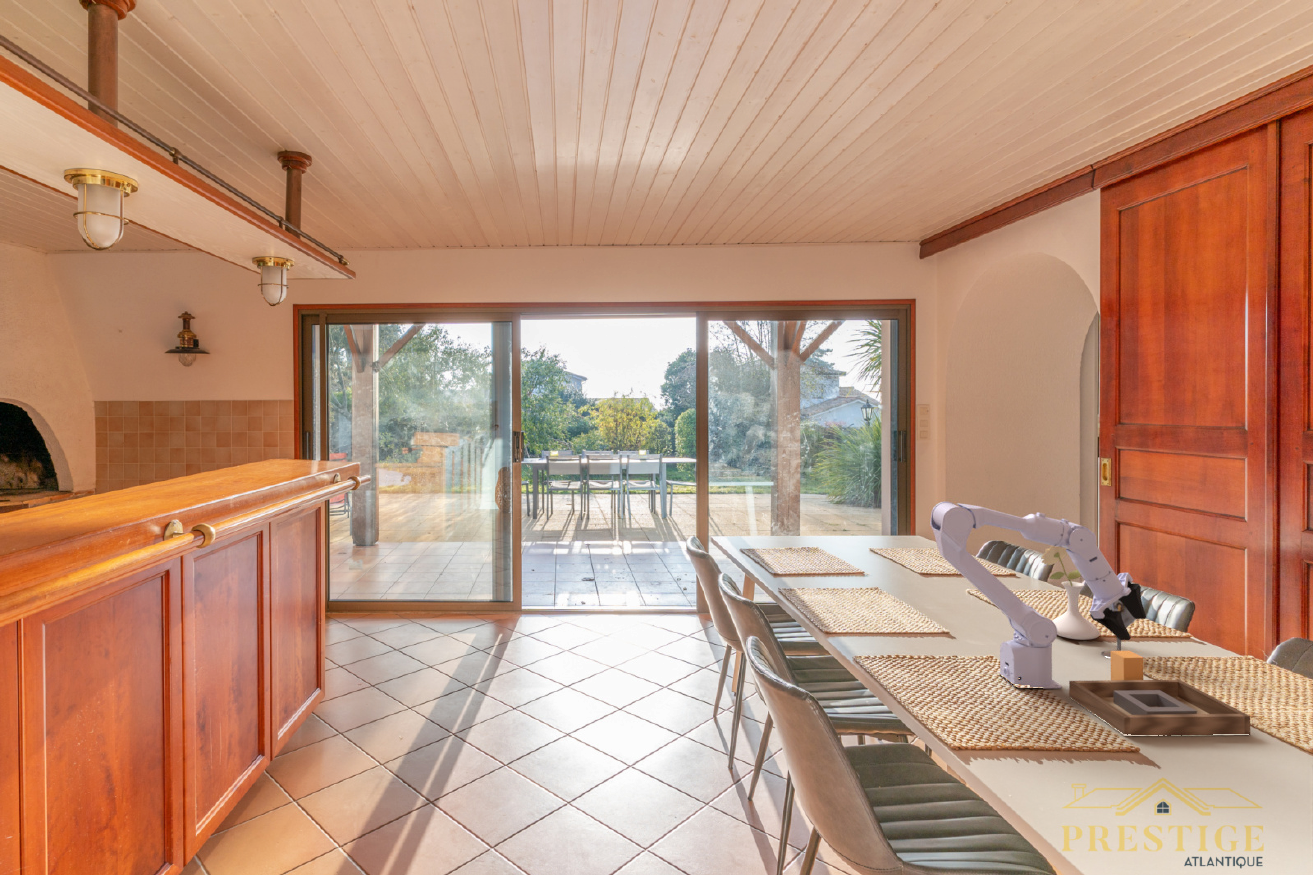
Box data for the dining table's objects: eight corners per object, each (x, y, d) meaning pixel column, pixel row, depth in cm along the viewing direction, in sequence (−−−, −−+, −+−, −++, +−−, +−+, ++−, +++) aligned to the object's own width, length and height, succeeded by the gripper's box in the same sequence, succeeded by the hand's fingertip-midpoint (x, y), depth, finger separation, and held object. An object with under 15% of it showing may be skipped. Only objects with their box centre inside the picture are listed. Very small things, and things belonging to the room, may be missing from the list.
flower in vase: (1083, 629, 170) (1083, 536, 169) (1110, 644, 159) (1109, 545, 158) (1032, 628, 171) (1031, 537, 171) (1055, 643, 160) (1054, 545, 159)
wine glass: (1122, 664, 146) (1122, 600, 146) (1090, 652, 154) (1090, 591, 153) (1148, 659, 148) (1148, 596, 148) (1115, 648, 156) (1115, 588, 155)
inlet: (1147, 724, 117) (1146, 711, 117) (1113, 703, 126) (1113, 690, 126) (1196, 724, 117) (1196, 710, 117) (1159, 702, 126) (1159, 690, 126)
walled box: (1124, 736, 114) (1124, 717, 114) (1069, 697, 130) (1069, 680, 130) (1250, 735, 113) (1250, 716, 113) (1179, 696, 129) (1179, 679, 129)
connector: (1123, 690, 132) (1123, 657, 132) (1110, 683, 136) (1110, 650, 136) (1143, 690, 132) (1143, 657, 132) (1129, 682, 136) (1129, 650, 136)
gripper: (1100, 591, 128) (1137, 649, 128) (1131, 553, 135) (1167, 608, 134) (1067, 593, 135) (1103, 648, 134) (1099, 557, 141) (1133, 609, 141)
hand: (1133, 628), depth 135 cm, fingers open, 7 cm apart
